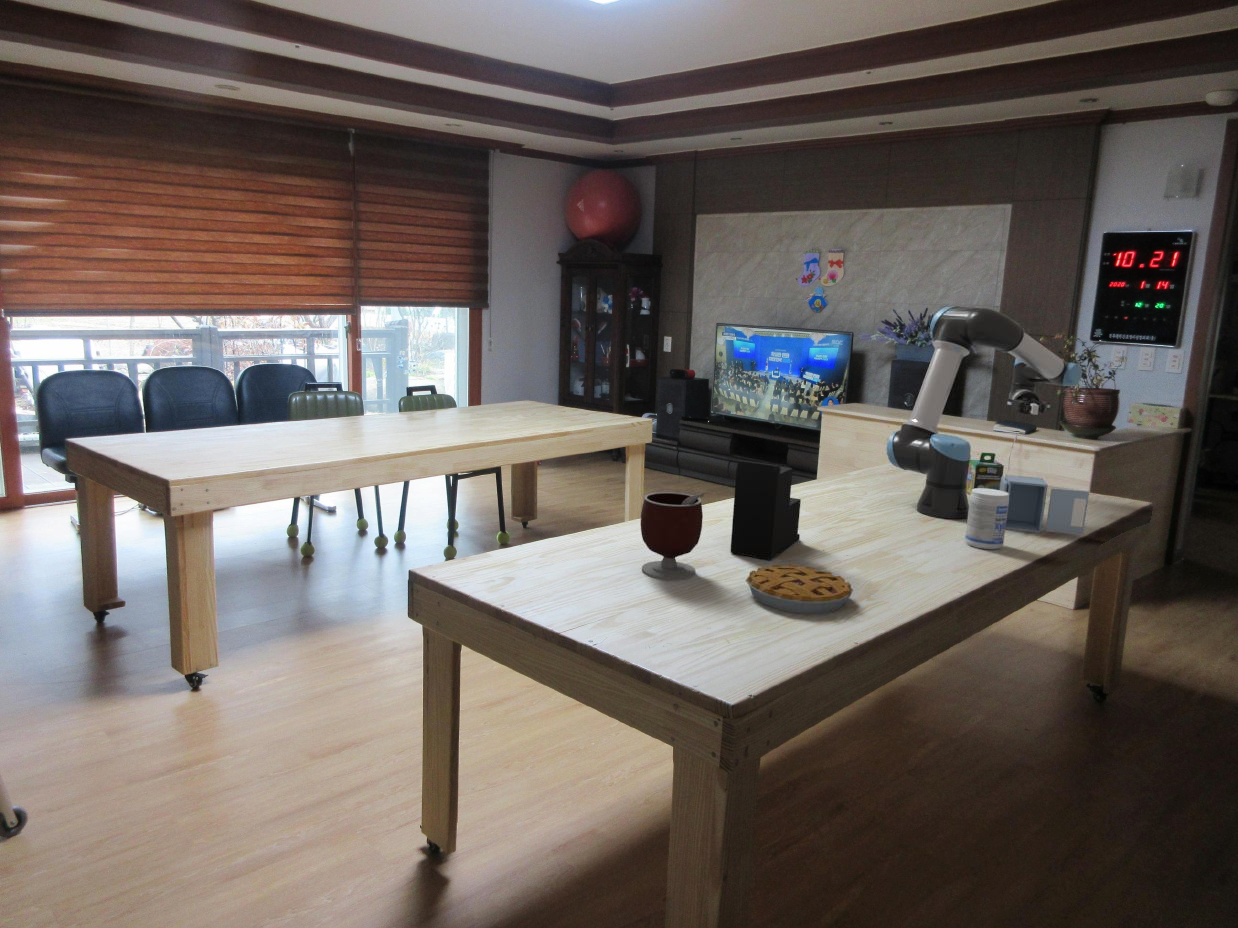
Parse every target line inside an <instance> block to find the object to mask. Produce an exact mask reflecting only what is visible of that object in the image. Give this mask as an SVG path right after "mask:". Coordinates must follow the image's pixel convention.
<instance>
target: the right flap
mask: <svg viewBox="0 0 1238 928" xmlns="http://www.w3.org/2000/svg"><path fill="white" fill-rule="evenodd" d="M1089 496H1090V491H1089V490H1079V489H1069V488H1068V489H1067V488H1057V487H1056V488H1055V487H1051V490H1050V496H1049V504H1048V511H1047V517H1046V525H1045V532H1052V533H1060V534H1061V533H1062V534H1071V535H1072V534H1073V535H1080V536H1081V535H1084V531H1085V530H1084V528H1085V522H1086V518H1087V517H1086V516H1087V511H1088V510H1087V508H1088V504H1089V503H1088V502H1089Z"/></svg>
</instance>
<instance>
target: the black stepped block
mask: <svg viewBox="0 0 1238 928" xmlns="http://www.w3.org/2000/svg"><path fill="white" fill-rule="evenodd" d="M736 462H737V463H736V471H735V481H734V482H735V486H734V497H733V498H734V500H733V511H732V524H731V525H732V526H731V540H730V553H731V554H735V555H736V554H738V555H742V556H748V557H751V558H757V559H763V560H769V561H772V560H773V559H775V558H777V556H778V555H780V554H782V553H783V552H784V551H785V550H787V549H789V548H790V547H792V546H794V544H796V543H797V542H799V541H800V539H801V538H800V533H798V532H799V522H800V514H801V500H802V499H800V498H796V497H795V498H794V497H791V493H792V492H791V491H792V490H791V489H792V479H793V468H792V467H788V466H787V467H786V466H780V465H778V464H771V463H765V462H756V461H749V460H741V459H737V460H736Z"/></svg>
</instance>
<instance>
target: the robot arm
mask: <svg viewBox="0 0 1238 928" xmlns="http://www.w3.org/2000/svg"><path fill="white" fill-rule="evenodd" d="M929 330H930V333H929V335H930V337H931V339H932V343H931V344H932V346H933V347H934V352H933V354H932V358H931V359H930V363H929V366H928V368H927V371H926V373H925V376H924V378H923V381H922V385H921V387H920V389H919V393H918V396H917V398H916V400H915V404H914V406H913V409H912V411H911V413H910V417H909V419H908V420H907V421H905V422H903V423H902V425H901V427H900V430H899V429H898V430H896V431H893V433H892V434H890V436H889V437H888V439H887V442H886V449H885V450H886V455H887V457H888V461H889V463H890V464H892V466H894V467H896V468H900V469H902V470H903V471H910V472H914V473H917V474H923V475H926V479H925V485H924V488H923V490H922V492H921V495H920V496H919V499H918V500H917V504H916V511H917V512H919V513H920V514H922V515H926V516H930V517H936V518H941V519H953V520H955V519H958V520H959V519H966V518H967V519H968V512H969V503H970V502H969V499H968V495H967V494H968V493H967V492H966V485H967V477H968V470H969V462H970V460H971V457H972V455H971V449H972V447H971V444H970V442H969V441H967V440H966V439H964V438H962V437H959V436H956V435H949V434H945V433H939V432H938V429H937V427H938V425H939V423H940V420H941V417H942V415H943V412H944V410H945V406H946V403H947V401H948V397H949V395H950V393H951V390H952V388H953V384H954V383H955V378H956V376H957V373H958V371H959V368H960V365H961V363H962V360H963V359H964V357H966V356H968V355H970V354H971V353H970V352H971V350H972V347H986V348H987V347H988V348H994V349H995V350H997V351H999V352H1001V353H1008V354H1009V355H1011V356H1013V357H1014V358H1015V361H1014V364H1013V372H1012V373H1013V374H1012V384H1011V387H1010V392H1009V394H1008V399H1007V405H1006V407H1008V408H1012V409H1015V410H1016V411H1017V413H1019V414H1022V415H1036V416H1038V414H1039V413H1042V414H1044V413H1046V411H1050V409H1051V402H1050V401H1043V402H1042V401H1040V399H1039V396H1038V395H1037V394H1036V387H1037V383H1041V384H1048V385H1054V386H1055V385H1056V386H1062V387H1074V386H1077V385H1079V383H1080V382H1081V379H1082V376H1083V369H1082V367H1081V366H1080V364H1078V363H1075V362H1074V363H1073V362H1067V361H1064V360H1063V359H1062V358H1060V357H1059V356H1058V355H1056V354H1055V353H1053V352H1052V351H1051V350H1049V349H1048V348H1046V346H1044V345H1042V344H1041V343H1040V342H1038V341H1037V340H1035V339H1034V338H1032V336H1030V335H1029V334H1027V333H1026V332H1025V328H1023V326H1022V325H1021V324H1019V323H1018V322H1017V321H1015V320H1014V319H1012V318H1011V317H1009V316H1007V315H1006V314H1003V313H1002V312H1000V311H998V310H995V309H993V308H988V307H973V306H971V307H969V306H959V305H956V306H955V305H954V306H946V307H943V308H941V309H939V310H938V311H937V312H936V313H935V315H934V316H933V317H932V320H931V322H930V327H929Z"/></svg>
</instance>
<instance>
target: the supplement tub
mask: <svg viewBox="0 0 1238 928" xmlns="http://www.w3.org/2000/svg"><path fill="white" fill-rule="evenodd" d="M969 497H970V498H969V502H968V503H969V512H968V517H967V522H966V528H965V529H966V530H965V538H964V541H965V543H966V544H967V545H969V546H970V547H972V548H973V547H974V548H978V549H983V550H999V549H1001V548H1003V546H1004V540H1005V533H1006V529H1005V527H1006V519H1007V512H1008V504H1009V494H1008V493H1007V492H1004V491H1000V490H995V489H986V488H975V489H972V492H971V495H970V496H969Z"/></svg>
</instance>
